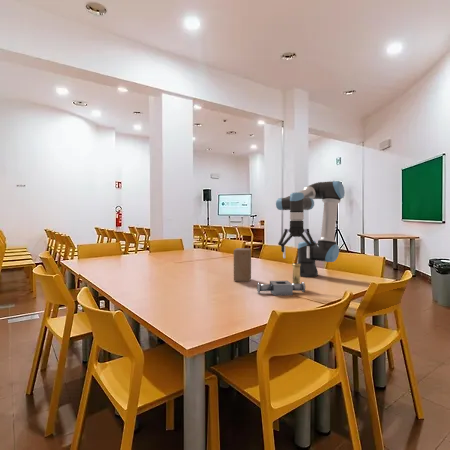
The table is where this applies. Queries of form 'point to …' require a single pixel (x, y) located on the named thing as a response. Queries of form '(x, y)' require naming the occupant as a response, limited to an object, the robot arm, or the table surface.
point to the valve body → (281, 287)
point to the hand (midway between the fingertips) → (296, 258)
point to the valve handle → (296, 273)
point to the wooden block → (242, 264)
